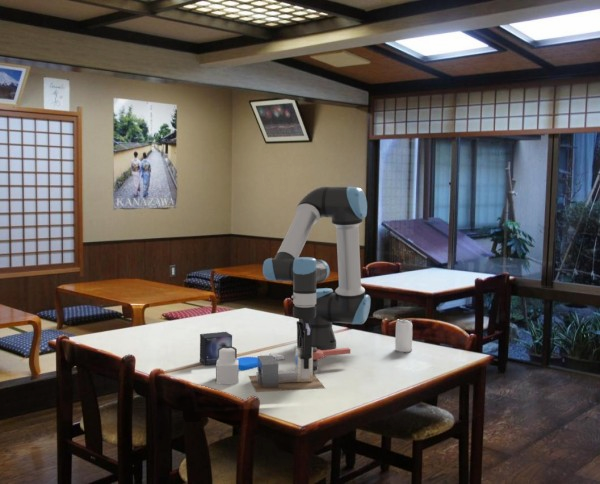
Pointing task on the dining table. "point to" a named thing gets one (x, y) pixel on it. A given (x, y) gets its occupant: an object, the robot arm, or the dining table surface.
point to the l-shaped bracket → (292, 375)
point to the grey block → (268, 371)
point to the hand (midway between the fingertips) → (304, 375)
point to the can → (403, 335)
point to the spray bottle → (253, 361)
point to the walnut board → (288, 385)
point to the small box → (213, 346)
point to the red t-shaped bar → (328, 352)
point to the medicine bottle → (227, 366)
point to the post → (314, 365)
